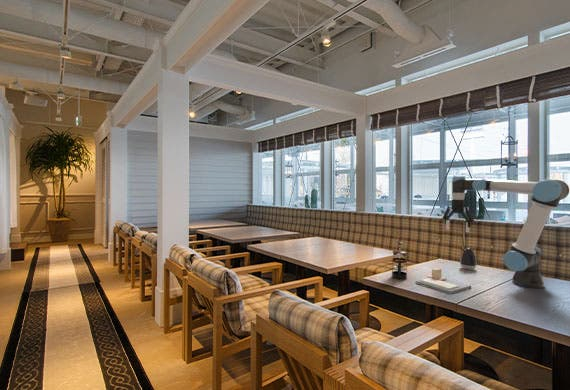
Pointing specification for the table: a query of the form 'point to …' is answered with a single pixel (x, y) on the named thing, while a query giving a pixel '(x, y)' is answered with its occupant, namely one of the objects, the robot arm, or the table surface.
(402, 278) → the french press
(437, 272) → the stub
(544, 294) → the table surface
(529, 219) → the robot arm
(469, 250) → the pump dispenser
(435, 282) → the board
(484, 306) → the table surface
